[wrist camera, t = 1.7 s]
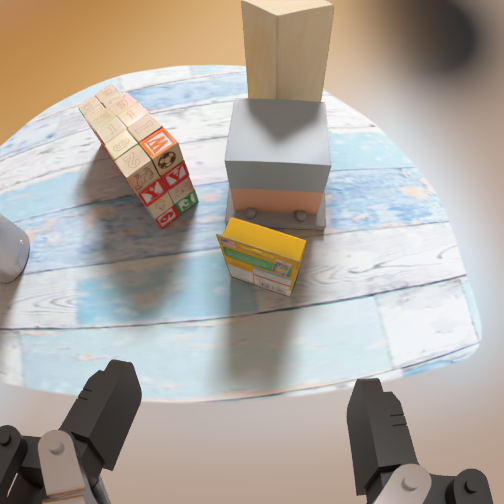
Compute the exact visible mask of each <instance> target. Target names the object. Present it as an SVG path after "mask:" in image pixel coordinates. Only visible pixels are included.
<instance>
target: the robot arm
mask: <svg viewBox="0 0 504 504" xmlns="http://www.w3.org/2000/svg"><path fill="white" fill-rule="evenodd" d="M28 254H29V239H28V236H27V234H26V233H25V232H24V231H23V230H22V229H20V228H19V227H17V226H16V225H15V224H13V223H12V222H11V221H9V220H8V219H7V218H5V217H4V216H3V215H1V214H0V282H2V283H9V282H11V281H13V280H14V279H16V278H17V277H18V276H19V274H20V273H21V272H22V270H23V268H24V266H25V264H26V261H27V258H28ZM141 398H142V392H141V387H140V384H139V381H138V378H137V375H136V372H135V369H134V366H133V364H132V363H130V362H125V361H120V360H114V359H113V360H111V361H110V362H109V364H108V365H107V367H106V369H105V370H104V371H101V370H99V371H98V372H96V373H95V374H94V375H93V376H91V377H90V378H89V379H88V381H87V383H86V384H85V386H84V388H83V390H82V391H81V393H80V394H79V396H78V399H76V401H75V403H74V404H73V406H72V408H71V409H70V411H69V413H68V415H67V417H66V418H65V420H64V422H63V423H62V425H61V427H60V428H59V429H58V430H52V431H49V432H47V433H46V434H44V435H43V436H42V437H32V436H22V435H21V434H20V433H19V431H18V430H17V429H16V428H15V427H13V426H10V425H5V426H1V427H0V504H111V502H110V500H109V497H108V495H107V492H106V490H105V487H104V484H103V481H102V478H101V477H100V473H101V470H102V468H104V469H108V470H111V471H113V469H114V466H115V464H116V461H117V459H118V456H119V454H120V451H121V449H122V446H123V444H124V441H125V439H126V437H127V434H128V432H129V429H130V427H131V424H132V422H133V420H134V417H135V415H136V412H137V410H138V408H139V406H140V403H141ZM347 424H348V431H349V438H350V445H351V452H352V460H353V467H354V476H355V485H356V494H357V496H358V495H366V497H367V503H366V504H493V500H492V496H491V492H490V488H489V484H488V481H487V478H486V476H485V475H484V474H483V473H482V472H481V471H479V470H477V469H466V470H464V471H462V472H461V473H459V474H458V475H457V476H441V475H433V474H430V473H428V471H427V470H426V469H425V468H423V467H422V466H420V465H419V463H418V462H417V458H416V455H415V451H414V447H413V444H412V440H411V436H410V433H409V429H408V426H406V424H407V423H406V419H405V416H404V413H403V410H402V407H401V403H400V401H399V400H398V399H397V398H396V396H395V395H394V394H393V393H392V392H383V389H382V386H381V382H380V380H379V379H378V378H371V379H357V381H356V383H355V386H354V389H353V392H352V395H351V398H350V401H349V404H348V408H347ZM16 473H18V475H17V477H16V479H15V481H14V484H13V486H12V488H11V491H10V493H9V495H8V498H7V494H8V490H9V489H10V487H11V484H12V482H13V480H14V477H15V475H16Z"/></svg>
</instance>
